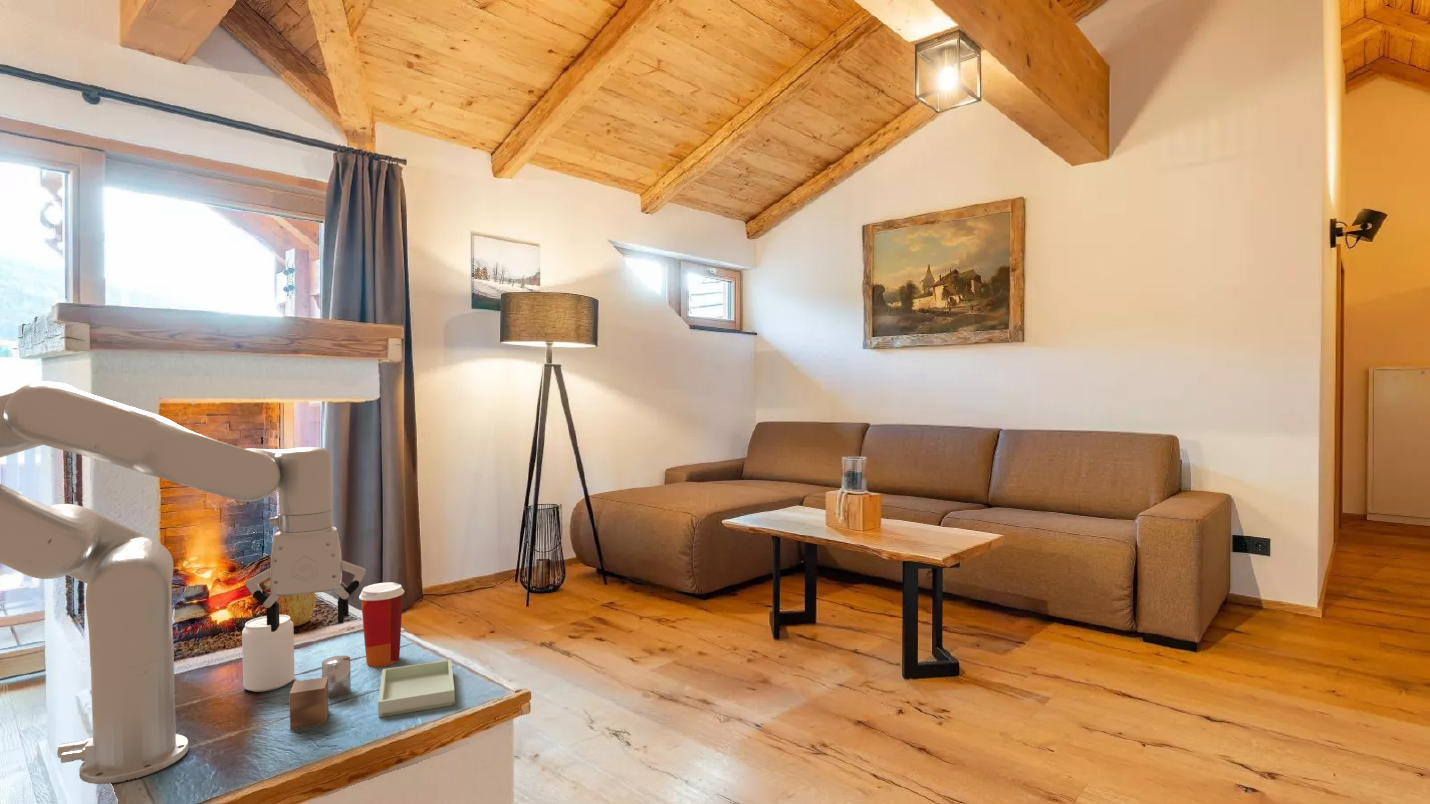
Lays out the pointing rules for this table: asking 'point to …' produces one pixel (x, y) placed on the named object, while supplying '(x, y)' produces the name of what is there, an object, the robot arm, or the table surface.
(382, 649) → the coffee cup
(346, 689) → the metal cylinder
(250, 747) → the table surface
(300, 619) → the apple
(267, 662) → the beverage can
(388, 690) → the parts tray
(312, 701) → the walnut block
